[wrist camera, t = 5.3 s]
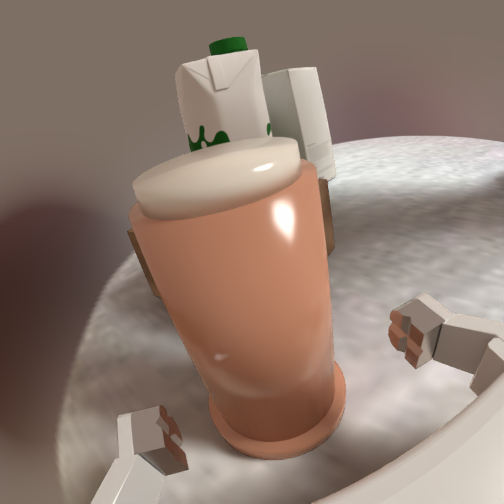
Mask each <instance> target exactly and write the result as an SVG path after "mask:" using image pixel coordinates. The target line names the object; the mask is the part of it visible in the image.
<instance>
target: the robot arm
mask: <svg viewBox="0 0 504 504" xmlns="http://www.w3.org/2000/svg"><path fill="white" fill-rule="evenodd" d="M390 320H391V321H393V322H392V324H391V325H390V327H389V334H388V335H389V338H390V341H391V343H392V345H393V346H394V347H395V348H396V349H397V351H401V352H405V359H406V360H407V361H408V362H409V363H410V364H411V365H412V366H413V367H414V368H415V369H417V368H419V367H420V366H422V365H424V364H425V363H427V362H428V361H430V360H431V359H433V360H435V361H438V362H441V363H443V364H446V365H449V366H451V367H454V368H457V369H460V370H463V371H465V372H468V373H471V374H474V377H473V379H472V381H471V383H470V388H471V390H472V391H473V392H474V393H475V394H476V395H477V396H478V397H477V398H476V399H475V400H474V401H472V402H471V403H470V404H469V405H468V406H467V407H466V408H464V409H463V410H462V411H461V412H460V413H458V414H457V415H456V416H455V417H454V418H452V419H451V420H450V421H449V422H447V423H446V424H445V425H443V426H442V427H441V428H440V429H438V430H437V431H436V432H434V433H433V434H432V435H430V436H429V437H428V438H426V439H425V440H423V441H422V442H420V443H419V444H418V445H416V446H415V447H413V448H412V449H410V450H409V451H407V452H406V453H404V454H403V455H401V456H400V457H398V458H396V459H395V460H393V461H392V462H390V463H388V464H387V465H385V466H383V467H382V468H380V469H378V470H377V471H375V472H373V473H371V474H370V475H368V476H366V477H364V478H362V479H360V480H358V481H357V482H355V483H353V484H351V485H349V486H347V487H345V488H343V489H341V490H339V491H337V492H335V493H332V494H330V495H328V496H326V497H324V498H322V499H319V500H317V501H315V502H312V503H310V504H504V322H499V321H494V320H489V319H484V318H479V317H474V316H469V315H464V314H459V313H457V314H455V315H454V314H453V313H452V312H450V311H449V310H448V309H446V308H445V307H444V306H443V305H441V304H440V303H439V302H437V301H436V300H435V299H434V298H432V297H431V296H430V295H428V294H427V293H422V294H420V295H419V296H417V297H415V298H413V299H411V300H409V301H408V302H406V303H404V304H402V305H401V306H399V307H397V308H395V309H394V310H392V312H391V313H390ZM117 436H118V453H119V458H115V459H114V461H113V463H112V465H111V467H110V469H109V470H108V472H107V474H106V476H105V478H104V480H103V481H102V483H101V485H100V487H99V489H98V491H97V493H96V494H95V496H94V498H93V500H92V502H91V504H157V503H158V500H159V497H160V494H161V491H162V488H163V485H164V482H165V479H166V476H167V475H171V474H175V473H179V472H182V471H186V470H189V468H188V463H187V459H186V455H185V452H184V451H183V450H182V449H181V448H180V446H181V444H182V437H181V434H180V431H179V428H178V426H177V424H176V423H175V421H174V420H173V418H172V417H169V416H167V412H166V409H165V408H164V407H163V406H162V405H159V406H155V407H151V408H147V409H143V410H139V411H134V412H130V413H126V414H122V415H118V418H117Z"/></svg>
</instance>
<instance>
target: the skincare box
mask: <svg viewBox="0 0 504 504" xmlns="http://www.w3.org/2000/svg"><path fill="white" fill-rule="evenodd" d="M261 79H262V86H263V91H264V96H265V101H266V105H267V110H268V115H269V120H270V125H271V129H272V134H273V137H287V138H292V139H294V140H296V141H297V143H298V148H299V154H300V158H301V159H304V160H307V161H309V162H311V163H313V164H314V165H315V167H316V170H317V177H318V179H327V182H328V181H329V180H331V179H332V178H334V177H335V176H336V175H337V172H336V166H335V160H334V154H333V148H332V143H331V137H330V132H329V126H328V121H327V116H326V111H325V106H324V102H323V97H322V92H321V88H320V83H319V79H318V74H317V70H316V67H307V68H293V69H285V70H281V71H276V72H273V73H269V74H266V75H261Z"/></svg>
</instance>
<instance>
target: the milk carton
mask: <svg viewBox="0 0 504 504" xmlns="http://www.w3.org/2000/svg"><path fill="white" fill-rule="evenodd" d="M209 48H210V52H211V56H210V57H207V58H205V59H203V60H198V61H194V62H190V63H185V64H182V65H181V66H180V68H179V69H178V71H177V72H176V74H175V79H176V86H177V93H178V100H179V107H180V111H181V115H182V119H183V123H184V127H185V131H186V135H187V139H188V142H189V146H190V150H191V152H193V151H196V150H200V149H203V148H207V147H210V146H214V145H218V144H223V143H227V142H233V141H238V140H244V139H251V138H260V137H273V134H272V129H271V125H270V120H269V115H268V110H267V105H266V101H265V96H264V91H263V86H262V79H261V71H260V64H259V55H258V50H248V48H247V45H246V41H245V38H244V37H232V38H226V39H222V40H219V41H216V42H213V43H211V44H210V45H209Z"/></svg>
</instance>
